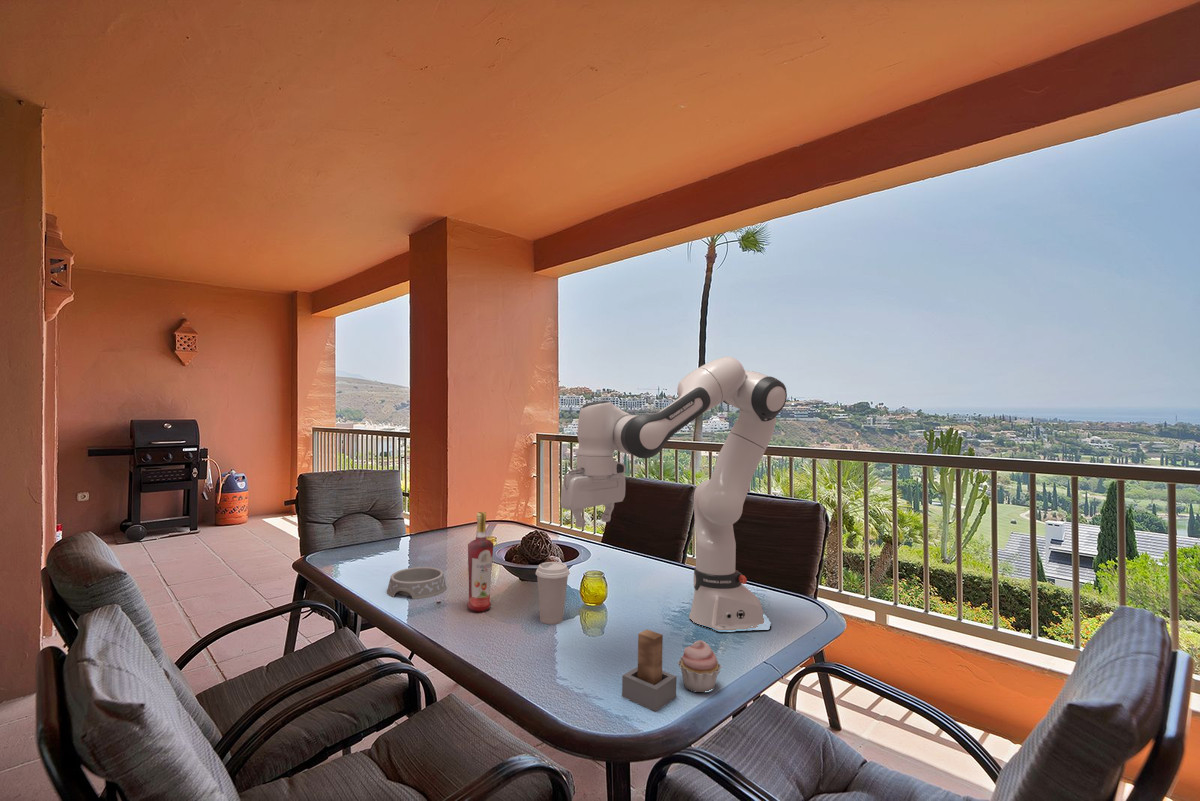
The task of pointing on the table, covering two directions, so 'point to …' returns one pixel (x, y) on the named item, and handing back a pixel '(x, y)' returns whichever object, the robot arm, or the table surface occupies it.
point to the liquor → (480, 567)
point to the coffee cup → (552, 591)
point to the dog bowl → (417, 582)
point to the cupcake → (699, 667)
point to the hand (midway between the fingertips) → (593, 524)
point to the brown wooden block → (650, 656)
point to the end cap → (649, 690)
